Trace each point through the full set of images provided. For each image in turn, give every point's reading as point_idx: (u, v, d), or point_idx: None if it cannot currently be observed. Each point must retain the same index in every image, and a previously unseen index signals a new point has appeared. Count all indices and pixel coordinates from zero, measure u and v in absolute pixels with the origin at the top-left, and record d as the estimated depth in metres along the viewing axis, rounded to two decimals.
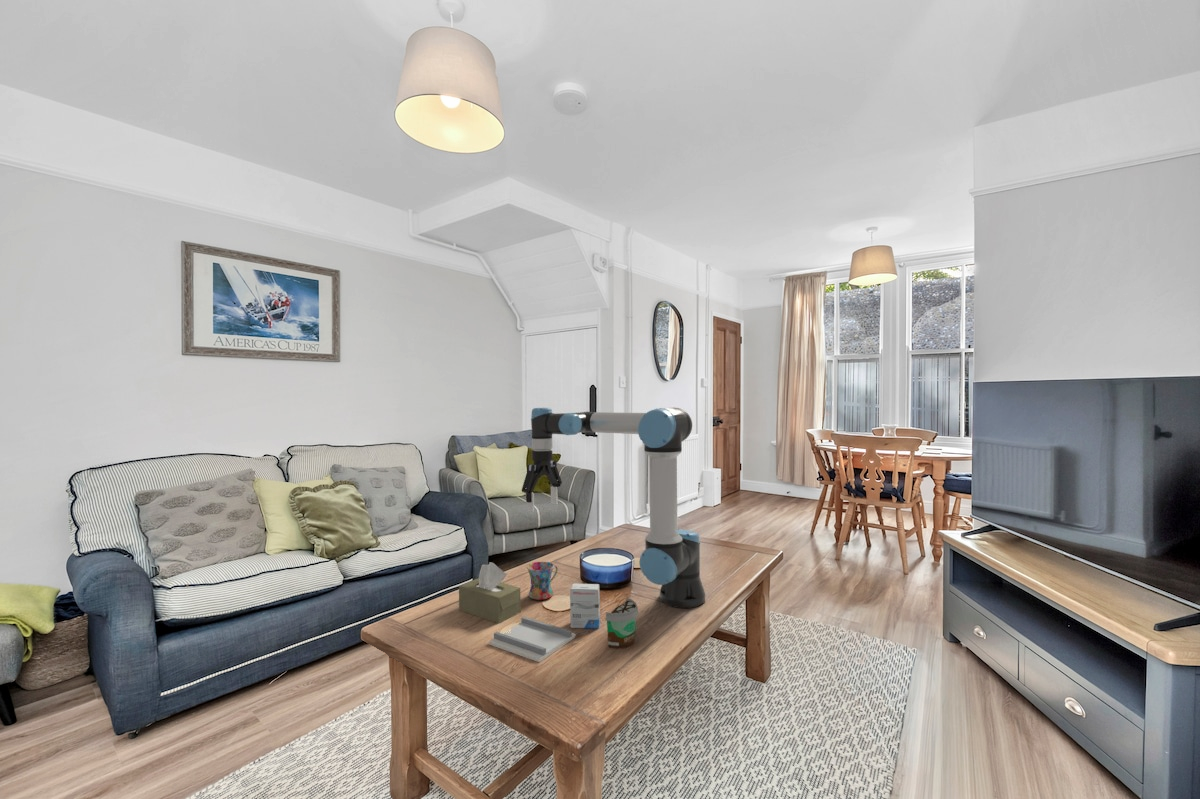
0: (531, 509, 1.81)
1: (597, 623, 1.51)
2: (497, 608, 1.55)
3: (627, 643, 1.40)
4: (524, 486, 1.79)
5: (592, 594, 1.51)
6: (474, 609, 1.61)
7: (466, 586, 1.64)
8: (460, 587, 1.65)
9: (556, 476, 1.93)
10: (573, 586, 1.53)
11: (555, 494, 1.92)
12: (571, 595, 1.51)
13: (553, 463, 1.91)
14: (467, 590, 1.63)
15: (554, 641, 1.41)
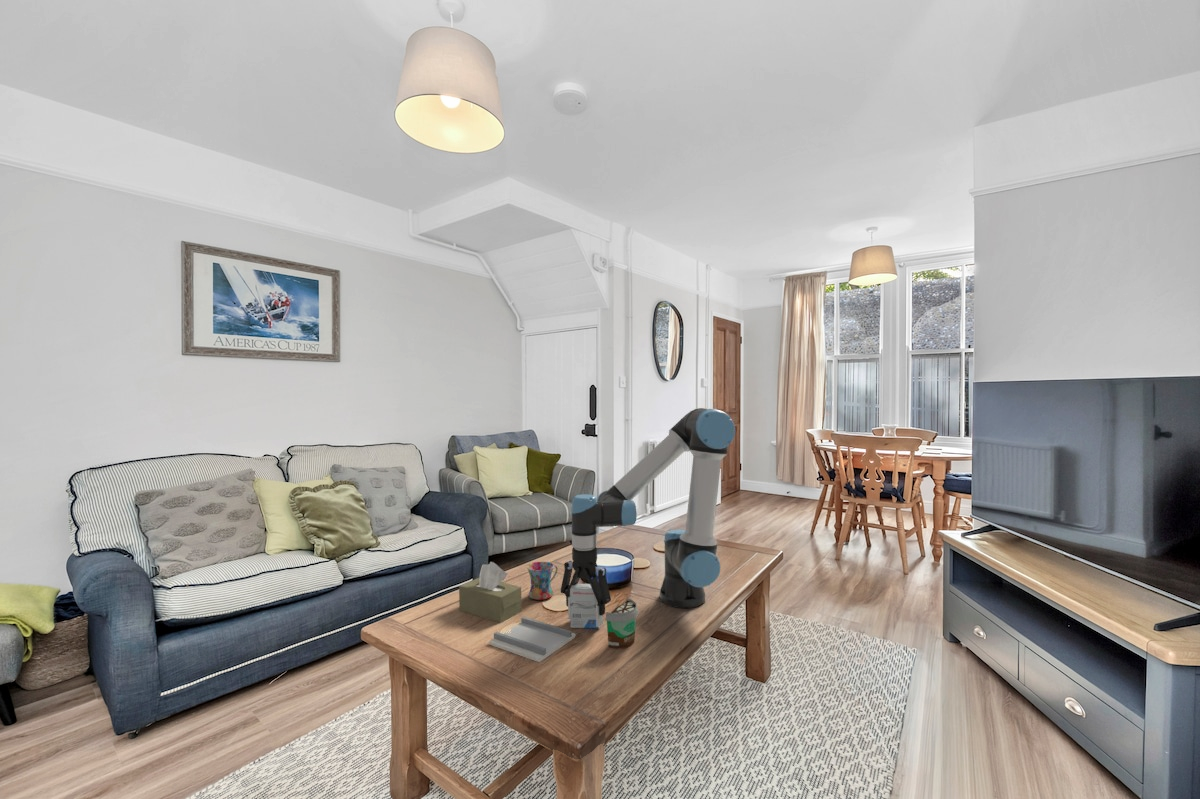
0: None
1: None
2: (499, 608, 1.55)
3: (627, 643, 1.40)
4: None
5: (592, 594, 1.51)
6: (474, 609, 1.61)
7: (466, 586, 1.64)
8: (460, 587, 1.65)
9: None
10: (573, 586, 1.53)
11: None
12: (571, 595, 1.51)
13: None
14: (467, 590, 1.63)
15: (554, 641, 1.41)
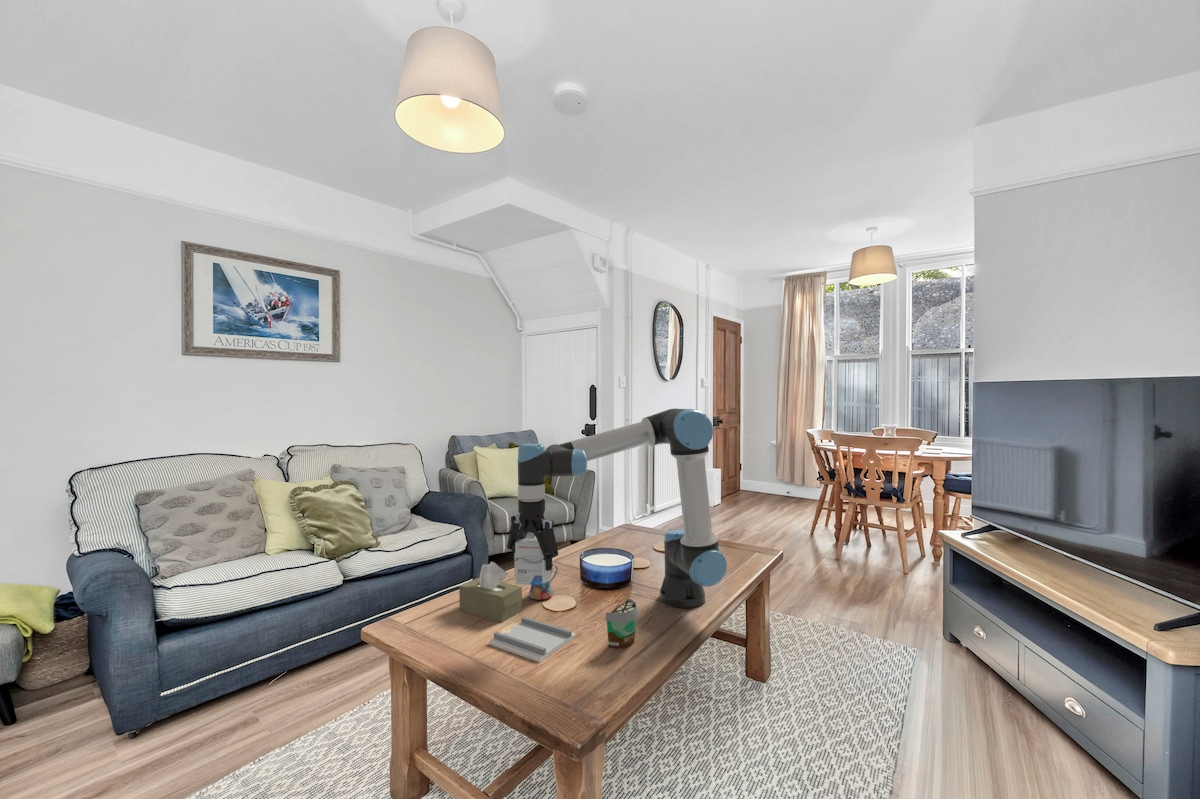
0: None
1: None
2: (500, 608, 1.56)
3: (627, 643, 1.40)
4: None
5: (539, 548, 1.41)
6: (475, 609, 1.61)
7: (467, 586, 1.64)
8: (461, 587, 1.64)
9: None
10: (519, 540, 1.44)
11: None
12: (516, 549, 1.42)
13: None
14: (468, 590, 1.63)
15: (554, 641, 1.41)
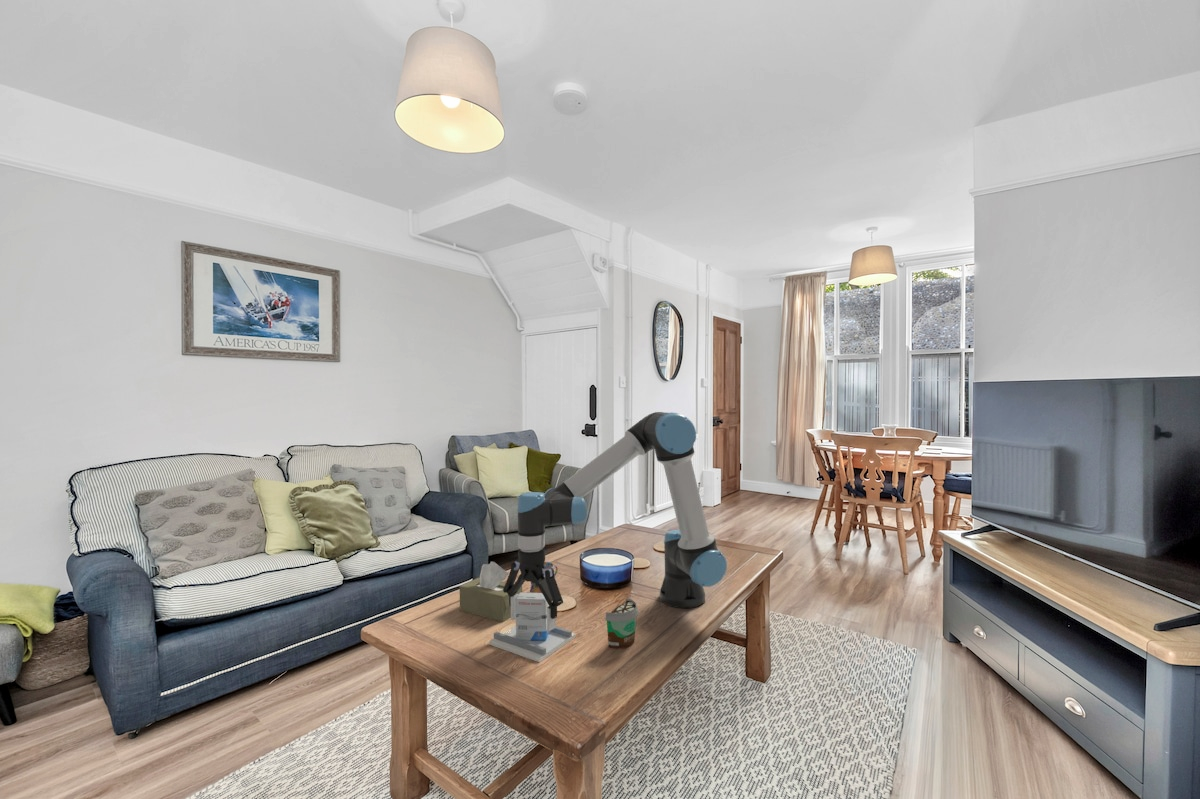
0: None
1: (544, 635, 1.41)
2: (501, 607, 1.56)
3: (627, 643, 1.40)
4: None
5: (539, 604, 1.41)
6: (476, 609, 1.61)
7: (467, 587, 1.64)
8: (461, 587, 1.64)
9: None
10: (519, 596, 1.43)
11: None
12: (517, 605, 1.42)
13: None
14: (468, 590, 1.63)
15: (554, 641, 1.41)
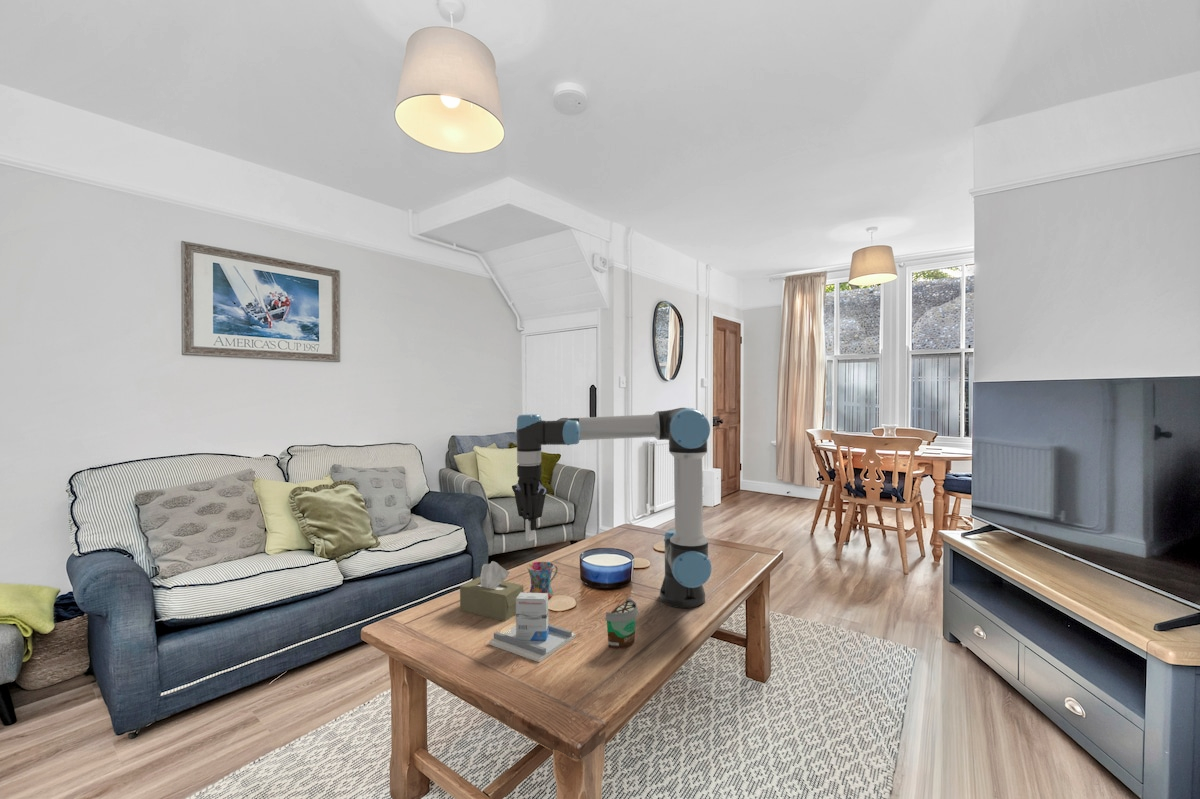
0: None
1: (544, 635, 1.41)
2: (504, 606, 1.57)
3: (627, 643, 1.40)
4: None
5: (539, 604, 1.41)
6: (477, 608, 1.61)
7: (468, 586, 1.64)
8: (461, 587, 1.64)
9: None
10: (519, 595, 1.44)
11: None
12: (517, 605, 1.42)
13: None
14: (469, 590, 1.63)
15: (554, 641, 1.41)
